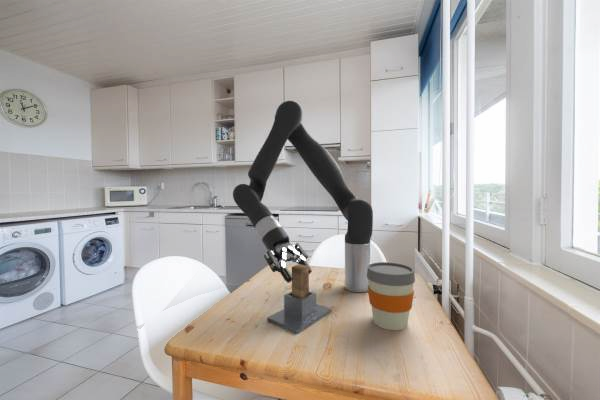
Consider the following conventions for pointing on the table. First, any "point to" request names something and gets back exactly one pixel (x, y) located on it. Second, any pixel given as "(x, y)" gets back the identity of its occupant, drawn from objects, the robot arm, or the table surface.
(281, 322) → the grey square tube bracket
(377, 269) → the reusable coffee cup
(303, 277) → the brown square block
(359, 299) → the table surface
